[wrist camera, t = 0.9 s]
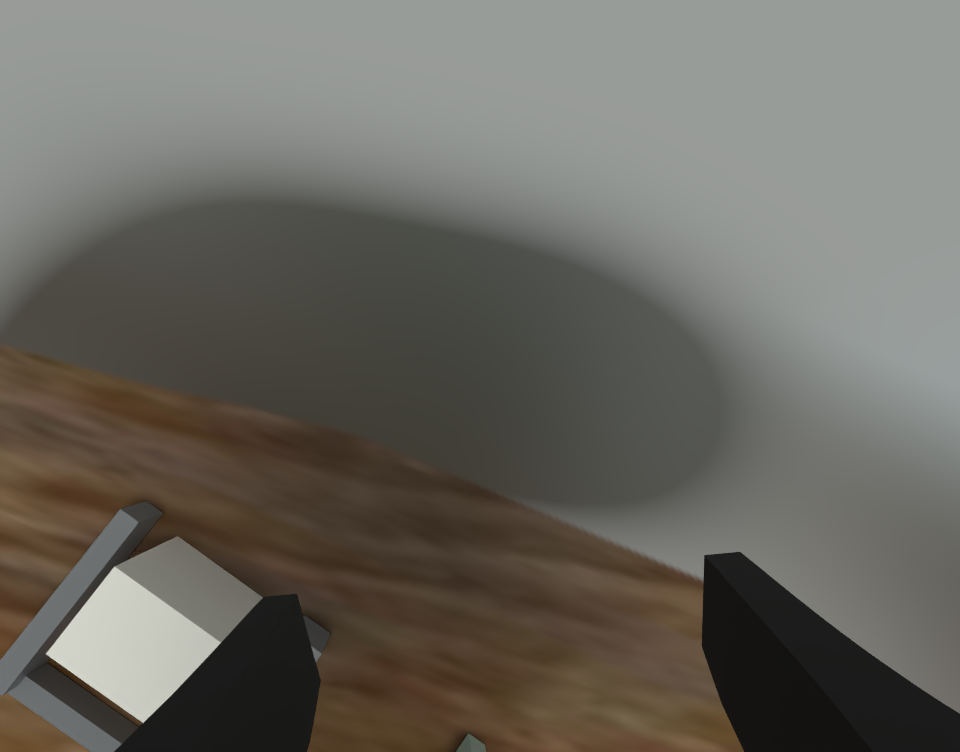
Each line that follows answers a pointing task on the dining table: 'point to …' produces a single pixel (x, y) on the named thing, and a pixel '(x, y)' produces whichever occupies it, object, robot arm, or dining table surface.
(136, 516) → the port cradle
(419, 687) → the dining table surface
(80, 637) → the plug block
